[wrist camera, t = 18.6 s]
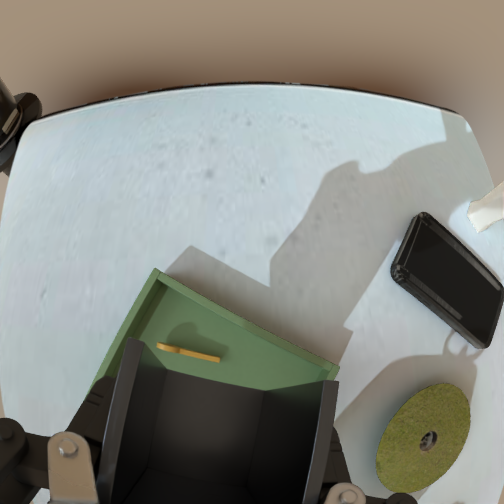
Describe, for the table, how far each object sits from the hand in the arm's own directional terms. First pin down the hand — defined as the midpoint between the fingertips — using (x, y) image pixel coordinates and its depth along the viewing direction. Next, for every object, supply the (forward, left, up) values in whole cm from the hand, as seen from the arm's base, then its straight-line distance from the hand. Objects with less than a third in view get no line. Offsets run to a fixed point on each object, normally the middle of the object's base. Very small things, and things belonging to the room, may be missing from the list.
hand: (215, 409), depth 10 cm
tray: (0, -2, -12) cm, 12 cm away
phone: (+17, +16, -12) cm, 26 cm away
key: (-3, 0, -11) cm, 11 cm away
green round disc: (+20, +1, -12) cm, 23 cm away
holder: (0, -3, -4) cm, 5 cm away
